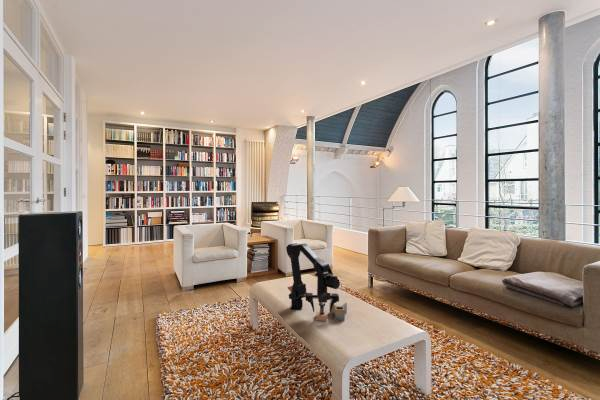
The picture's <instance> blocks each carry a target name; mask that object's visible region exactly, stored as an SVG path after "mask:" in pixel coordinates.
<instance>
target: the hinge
mask: <svg viewBox="0 0 600 400" xmlns="http://www.w3.org/2000/svg"><path fill="white" fill-rule="evenodd" d="M347 312H348V302H345V303H343V304H342V305H340V306H338V305H336V304H334V305H333V307H332V309H331V312H330V311H329V314H331V315H332V314H333V315H332V316H333V317H334V320H335V321H337V320H338V321H340V320H341V321H344V322H345V320H346V319H345V317H346V315H347Z"/></svg>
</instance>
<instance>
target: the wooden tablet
mask: <svg viewBox="0 0 600 400" xmlns="http://www.w3.org/2000/svg"><path fill="white" fill-rule="evenodd" d="M292 286H293V285H290V286H287V289H288V291H289V292H290V293H291V292H292ZM306 293H308V292H307V291H306ZM306 293H305V295H304V297H302V299H306Z"/></svg>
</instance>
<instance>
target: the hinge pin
mask: <svg viewBox="0 0 600 400" xmlns="http://www.w3.org/2000/svg"><path fill="white" fill-rule="evenodd" d="M318 306H319V309H320V310H319V312H320V315H324V312H325V306H326V303H324V302H318Z"/></svg>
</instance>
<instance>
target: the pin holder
mask: <svg viewBox="0 0 600 400" xmlns="http://www.w3.org/2000/svg"><path fill="white" fill-rule="evenodd" d="M315 316H316V317H317V318H316V321H326V320H327V321H328V312H327V311H324V315H320V311H316V315H315Z"/></svg>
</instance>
